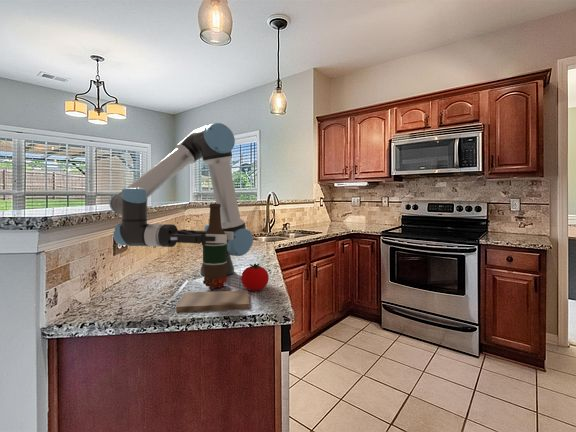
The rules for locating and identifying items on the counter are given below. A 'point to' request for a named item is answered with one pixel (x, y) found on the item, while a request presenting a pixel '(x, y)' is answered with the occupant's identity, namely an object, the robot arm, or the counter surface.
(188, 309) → the wooden cutting board
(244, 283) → the tomato
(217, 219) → the beer bottle
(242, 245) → the robot arm
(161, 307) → the counter surface
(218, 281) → the dragon fruit
